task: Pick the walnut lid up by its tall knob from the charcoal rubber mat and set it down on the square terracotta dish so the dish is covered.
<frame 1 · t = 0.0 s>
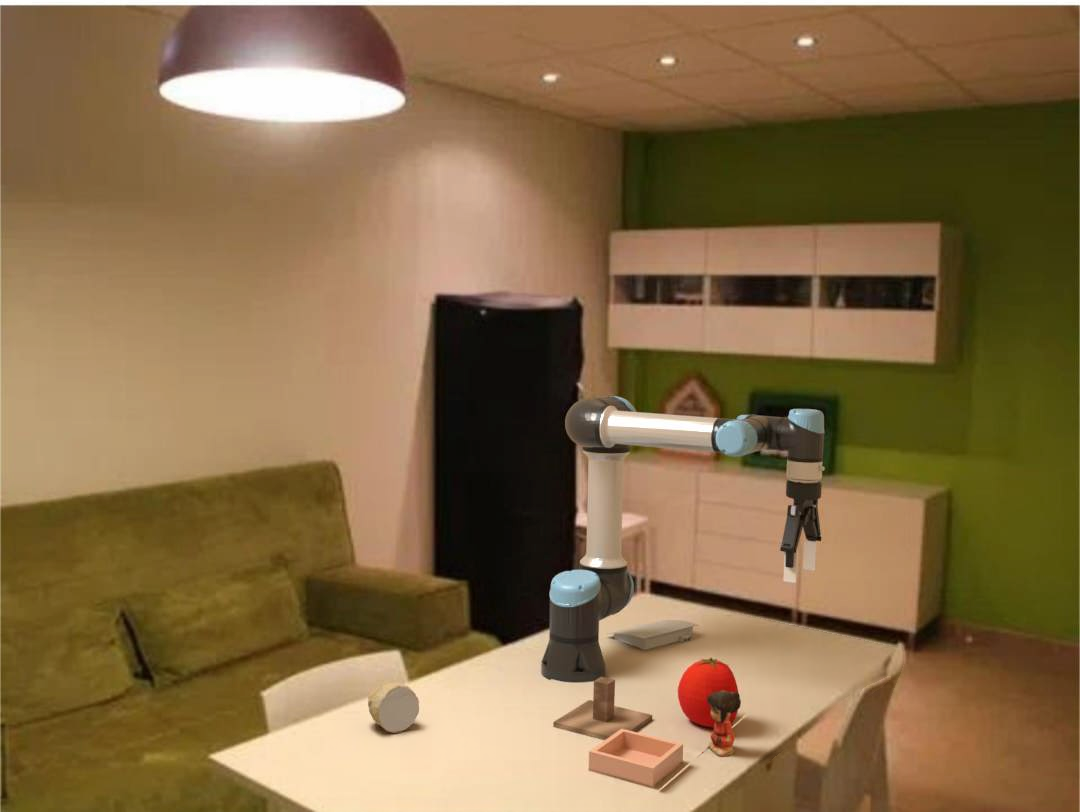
hand: (800, 575, 229), 28 cm above the table, fingers open, 13 cm apart
book: (654, 641, 274), on the table
cream grey rounded piece: (392, 727, 212), on the table
lid: (603, 723, 214), resting on mat
tomato: (707, 726, 215), on the table
figurine: (721, 751, 203), on the table
dish: (636, 768, 194), on the table
mat: (603, 724, 214), on the table
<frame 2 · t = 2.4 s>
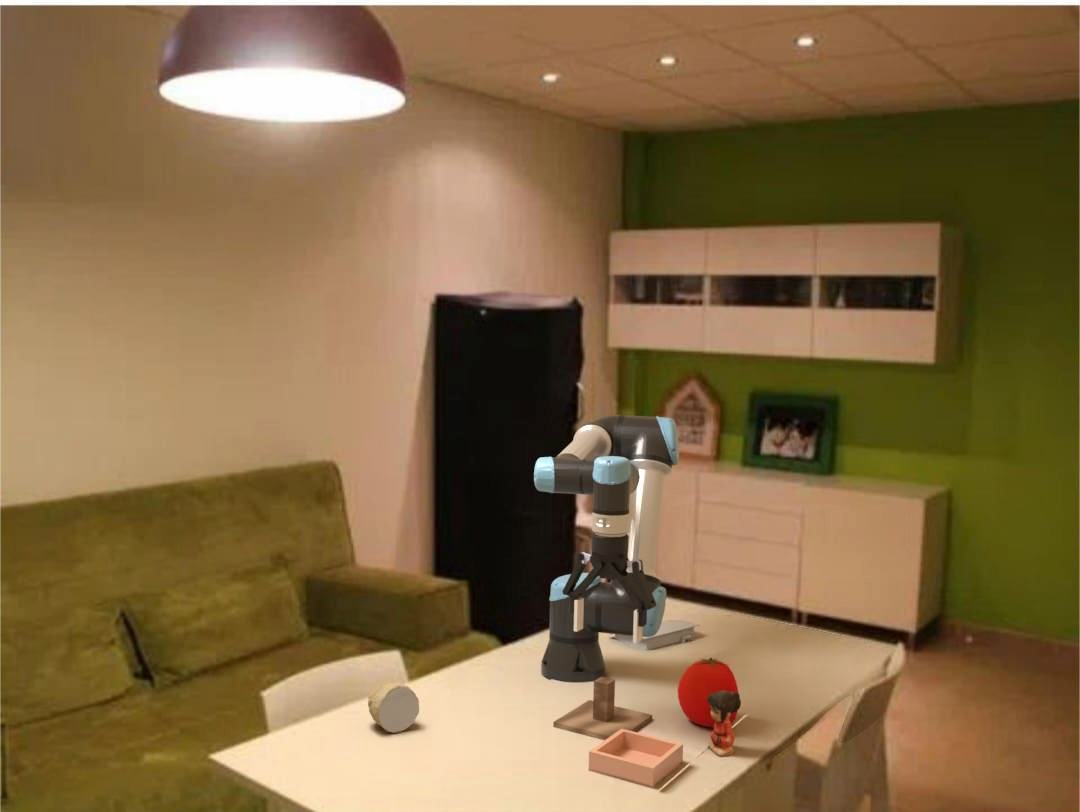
hand: (607, 635, 213), 19 cm above the table, fingers open, 13 cm apart
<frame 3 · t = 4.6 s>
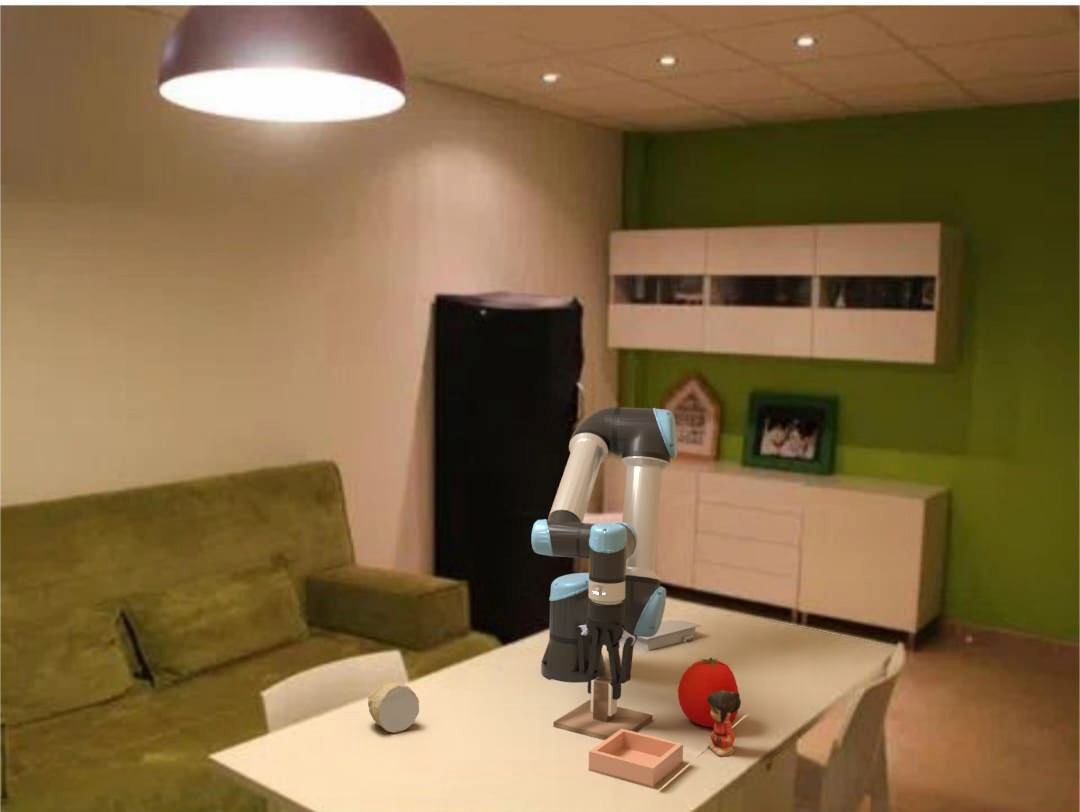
hand: (603, 711, 214), 3 cm above the table, fingers closed on lid, 3 cm apart
lid: (603, 723, 214), resting on mat, touching gripper
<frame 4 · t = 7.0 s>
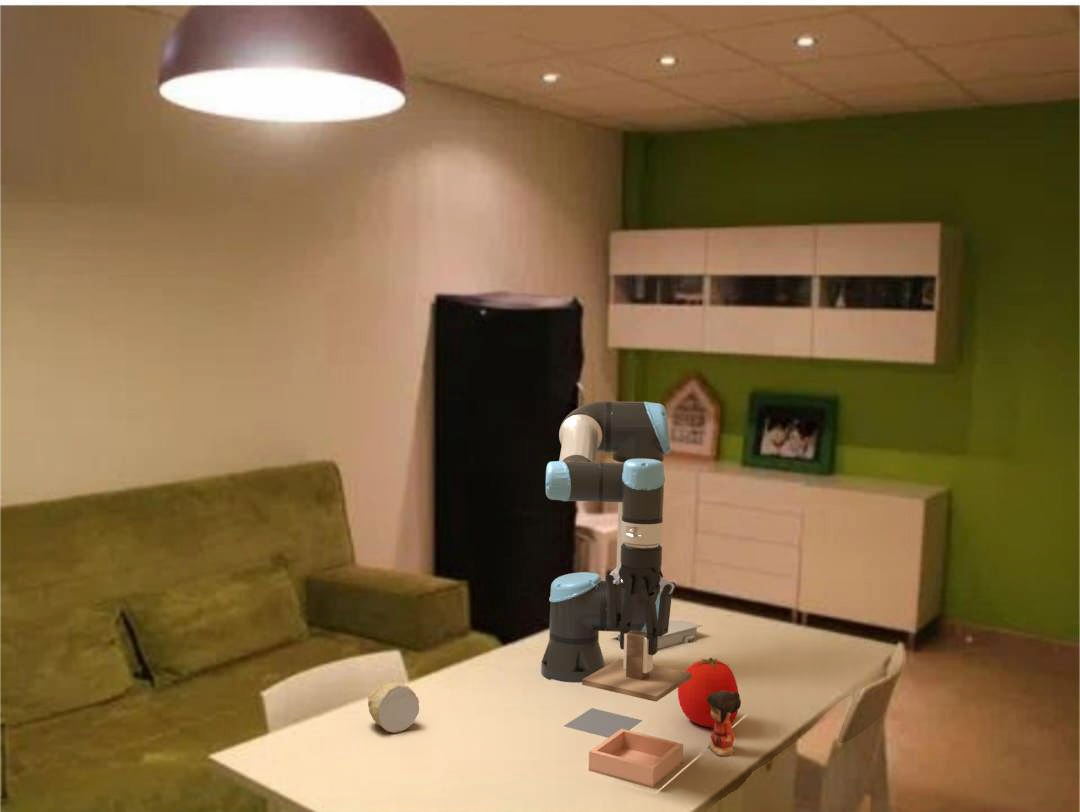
hand: (637, 668, 193), 19 cm above the table, fingers closed on lid, 3 cm apart
lid: (637, 681, 193), point 17 cm above the table, touching gripper
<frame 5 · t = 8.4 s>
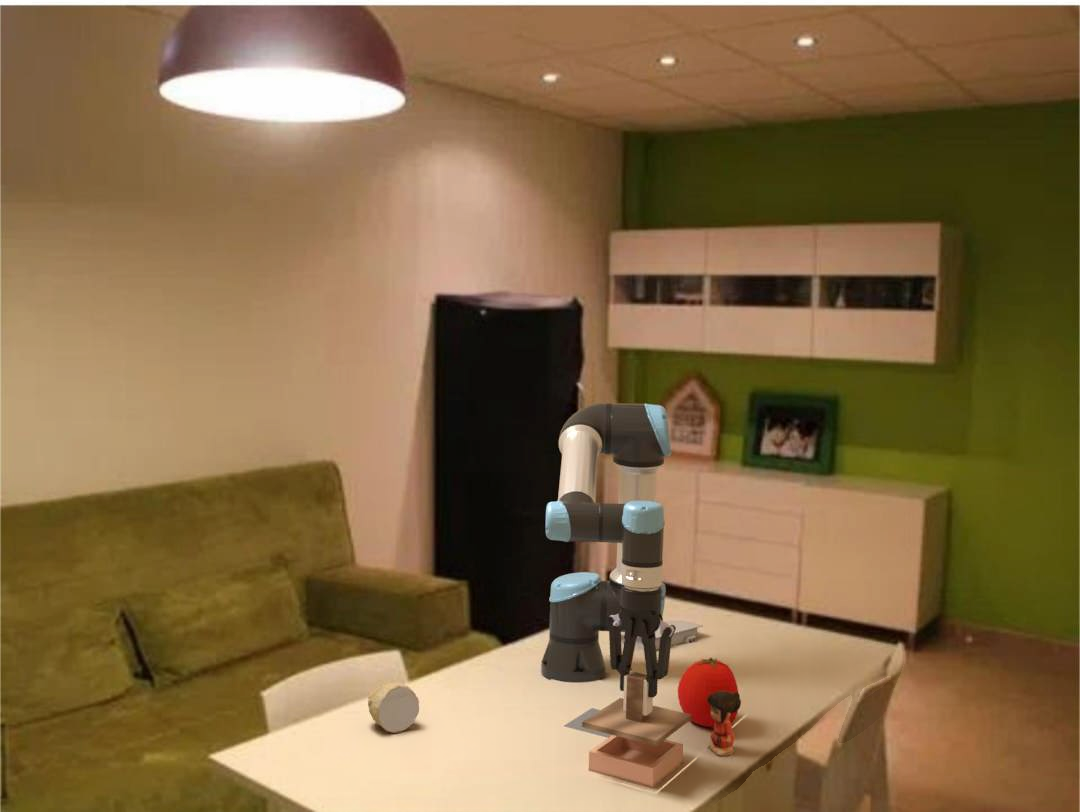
hand: (637, 710, 193), 11 cm above the table, fingers closed on lid, 3 cm apart
lid: (637, 723, 193), point 9 cm above the table, touching gripper
when the fingers open (8 cm above the table, at t = 9.2 s): lid drops 1 cm, resting on dish.
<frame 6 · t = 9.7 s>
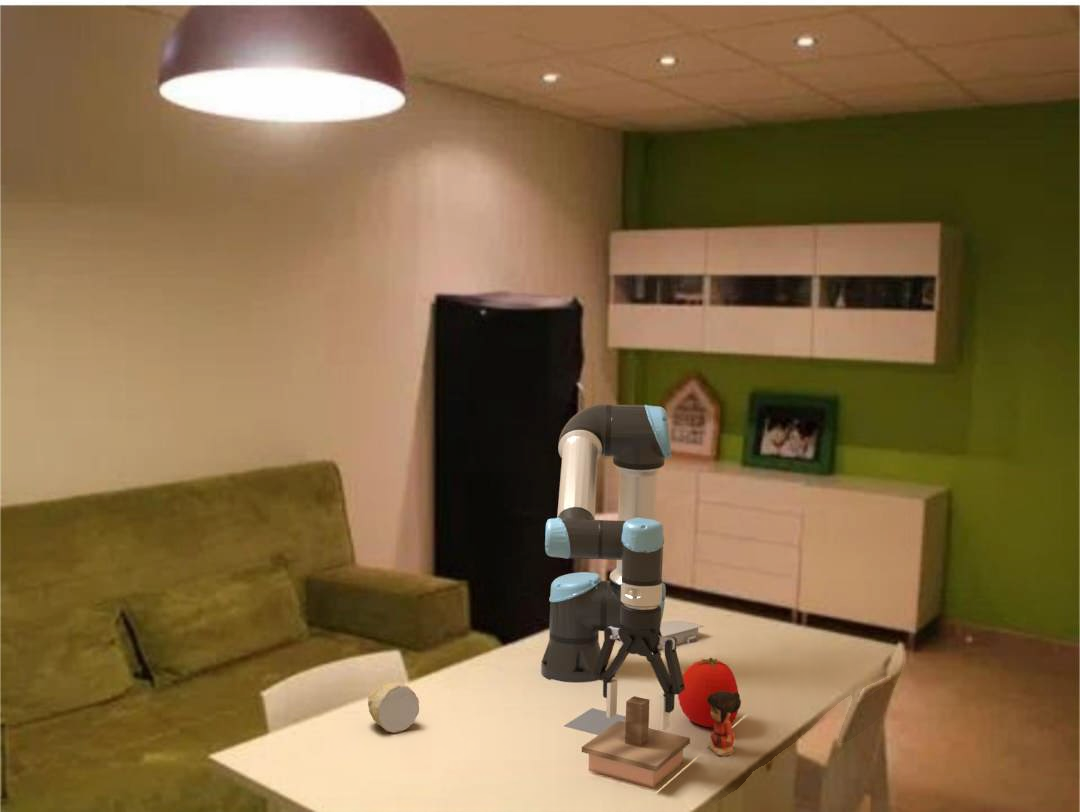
hand: (637, 721, 193), 9 cm above the table, fingers open, 10 cm apart
lid: (636, 747, 194), point 4 cm above the table, touching dish
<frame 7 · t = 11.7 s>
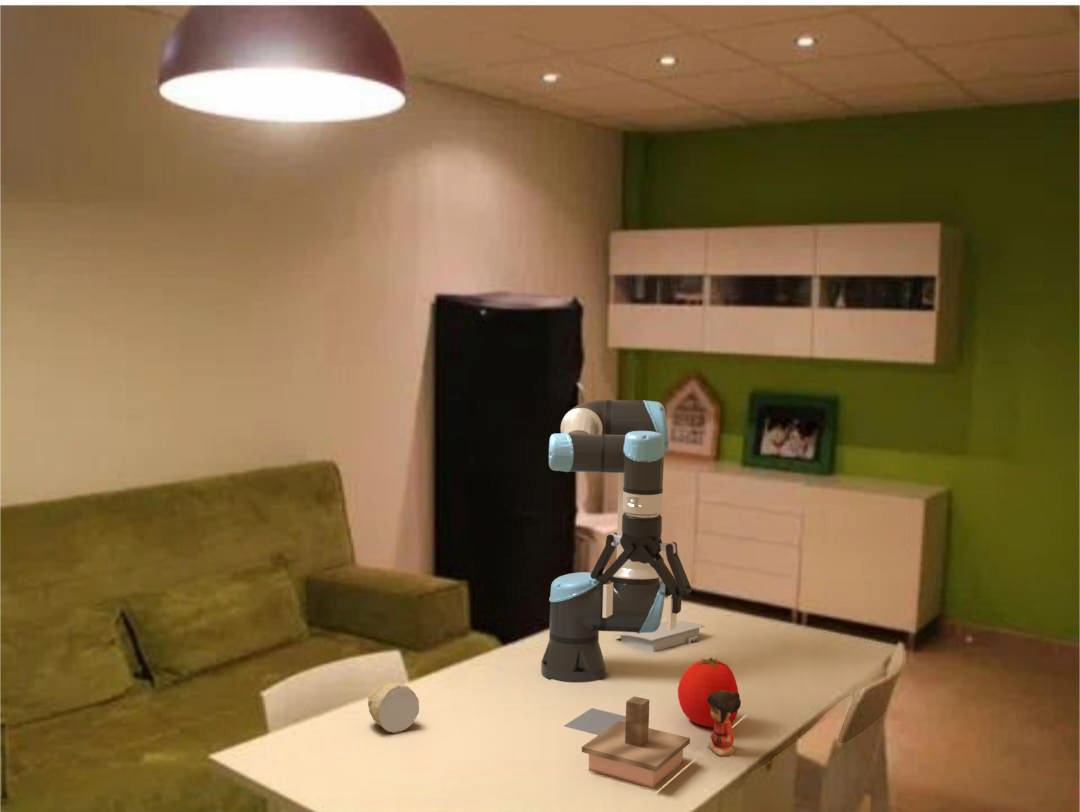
hand: (638, 622, 199), 26 cm above the table, fingers open, 13 cm apart
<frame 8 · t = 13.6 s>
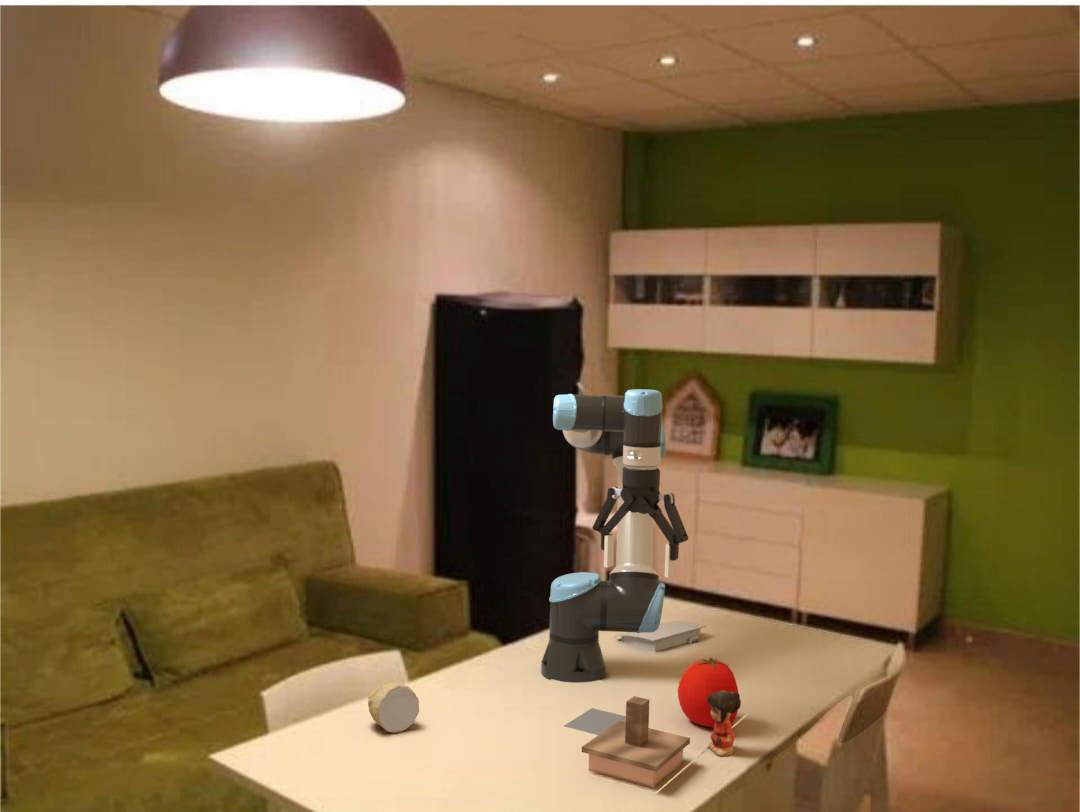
hand: (638, 571, 210), 33 cm above the table, fingers open, 13 cm apart
at the end: lid inside the target area on the dish (0.0 cm from its centre), point 4.0 cm above the dish's base; lid tilted 0°; the gripper is holding nothing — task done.
